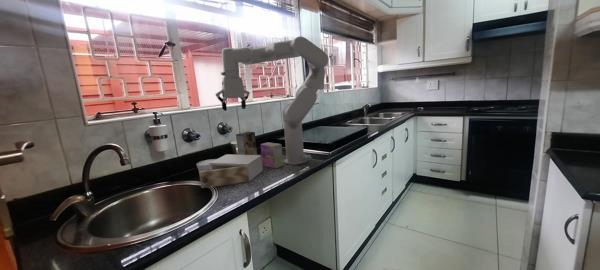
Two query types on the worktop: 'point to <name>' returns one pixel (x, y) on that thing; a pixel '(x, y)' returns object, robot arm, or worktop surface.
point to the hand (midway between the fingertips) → (234, 109)
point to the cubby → (239, 163)
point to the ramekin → (204, 165)
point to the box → (272, 155)
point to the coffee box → (246, 143)
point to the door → (223, 176)
